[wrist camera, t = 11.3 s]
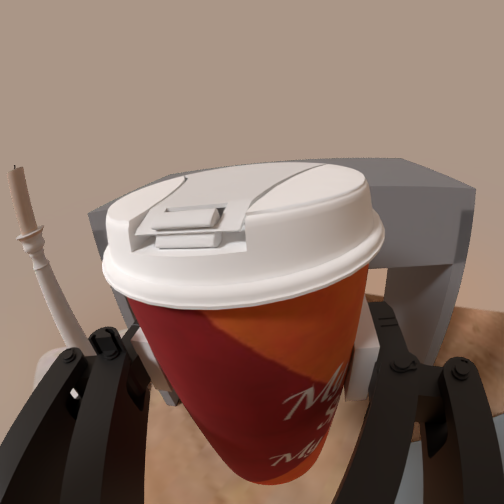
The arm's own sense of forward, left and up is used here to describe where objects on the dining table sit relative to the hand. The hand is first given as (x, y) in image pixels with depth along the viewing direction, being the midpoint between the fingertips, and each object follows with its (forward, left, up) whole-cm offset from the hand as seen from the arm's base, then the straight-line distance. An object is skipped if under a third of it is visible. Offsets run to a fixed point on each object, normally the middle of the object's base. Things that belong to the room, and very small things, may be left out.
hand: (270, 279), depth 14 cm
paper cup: (0, +5, -8) cm, 10 cm away
